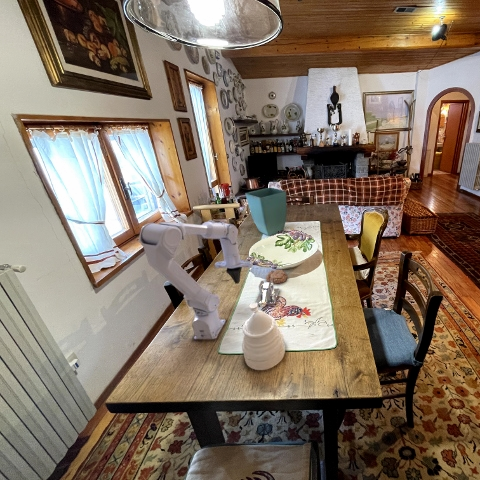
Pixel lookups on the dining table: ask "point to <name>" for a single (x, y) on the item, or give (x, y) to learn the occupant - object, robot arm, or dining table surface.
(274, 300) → the bracket
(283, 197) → the flower pot
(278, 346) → the honey pot
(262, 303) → the tap lever
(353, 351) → the dining table surface
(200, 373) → the dining table surface
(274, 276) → the cookie
